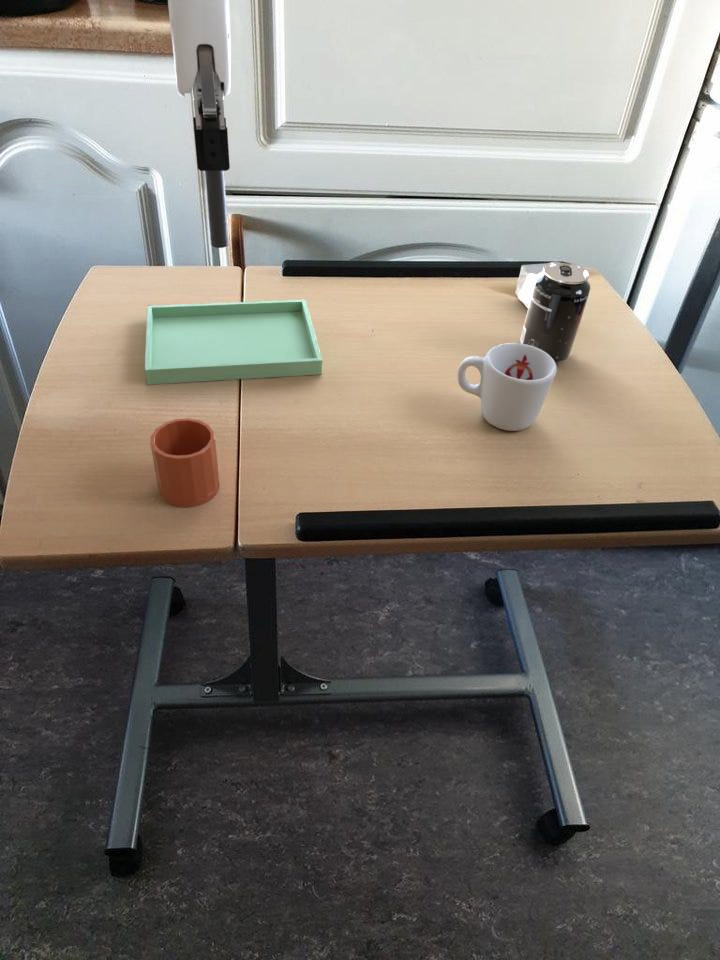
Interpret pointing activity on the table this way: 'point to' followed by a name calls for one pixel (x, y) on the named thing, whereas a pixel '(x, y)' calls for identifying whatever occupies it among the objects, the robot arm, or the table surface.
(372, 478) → the table surface
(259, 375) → the tray
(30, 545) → the table surface
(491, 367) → the cup
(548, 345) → the beverage can
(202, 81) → the robot arm
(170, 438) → the pen cup
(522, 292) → the small box
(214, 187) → the marker
